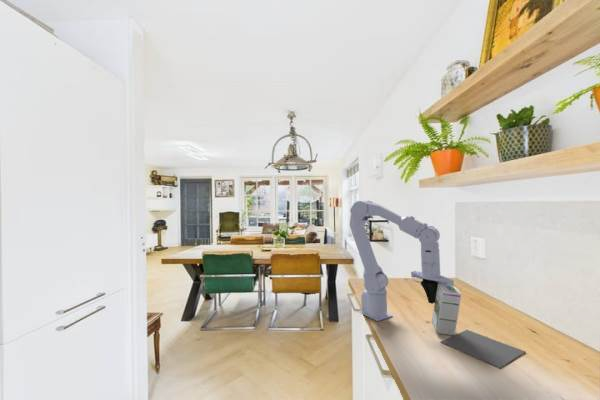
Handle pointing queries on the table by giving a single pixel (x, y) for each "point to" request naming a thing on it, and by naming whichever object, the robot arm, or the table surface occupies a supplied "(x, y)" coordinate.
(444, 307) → the syrup box
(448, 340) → the rubber mat
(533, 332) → the table surface
